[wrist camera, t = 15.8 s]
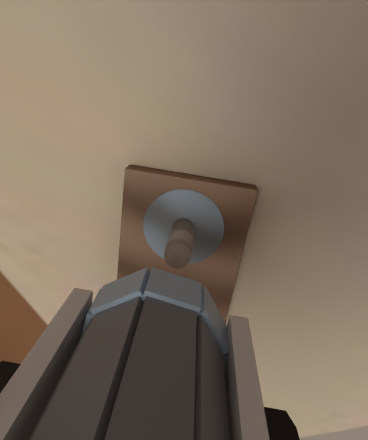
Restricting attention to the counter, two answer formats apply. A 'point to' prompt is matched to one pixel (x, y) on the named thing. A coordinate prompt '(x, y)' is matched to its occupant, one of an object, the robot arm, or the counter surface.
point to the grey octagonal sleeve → (144, 366)
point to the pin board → (198, 272)
